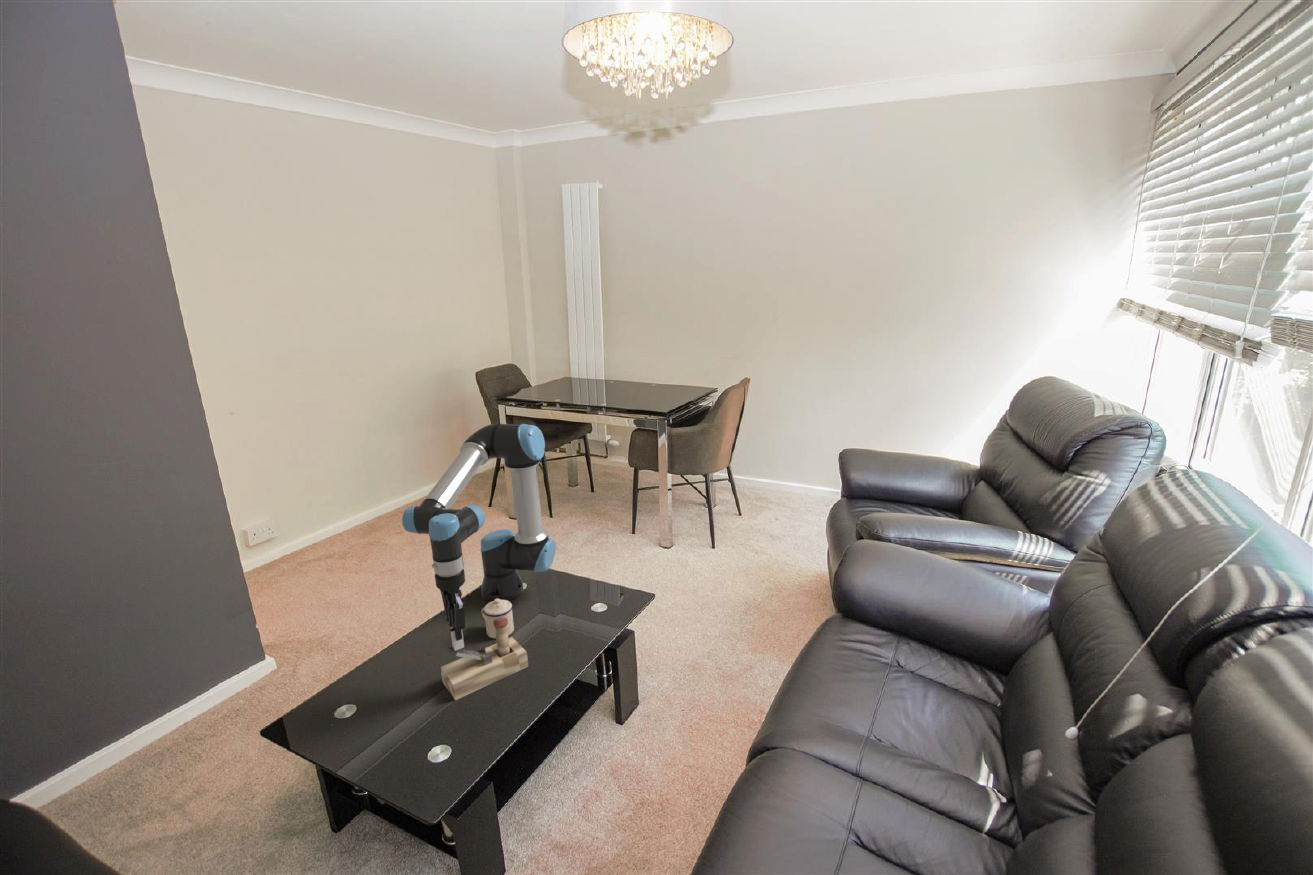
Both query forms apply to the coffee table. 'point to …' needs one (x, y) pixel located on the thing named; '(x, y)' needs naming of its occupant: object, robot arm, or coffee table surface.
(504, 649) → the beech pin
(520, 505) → the robot arm
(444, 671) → the block
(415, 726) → the coffee table surface
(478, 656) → the lever
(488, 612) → the teacup with lid
